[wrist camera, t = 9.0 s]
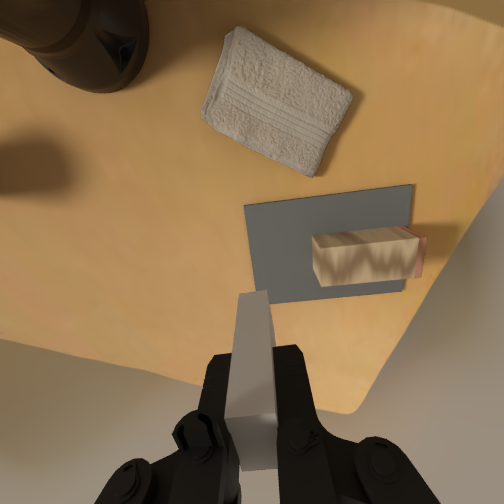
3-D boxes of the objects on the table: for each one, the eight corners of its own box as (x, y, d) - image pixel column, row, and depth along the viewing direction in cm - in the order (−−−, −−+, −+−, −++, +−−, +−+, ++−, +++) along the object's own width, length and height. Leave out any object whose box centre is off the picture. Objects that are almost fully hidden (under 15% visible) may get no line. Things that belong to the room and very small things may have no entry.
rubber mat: (244, 205, 39) (243, 206, 38) (410, 184, 37) (412, 184, 36) (258, 303, 45) (258, 305, 45) (400, 289, 43) (402, 291, 43)
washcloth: (231, 28, 31) (228, 14, 28) (353, 95, 33) (362, 89, 31) (199, 124, 35) (194, 121, 32) (310, 178, 38) (314, 180, 35)
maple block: (320, 248, 34) (426, 237, 33) (311, 235, 40) (402, 225, 39) (321, 286, 36) (421, 277, 35) (313, 269, 42) (399, 260, 41)
